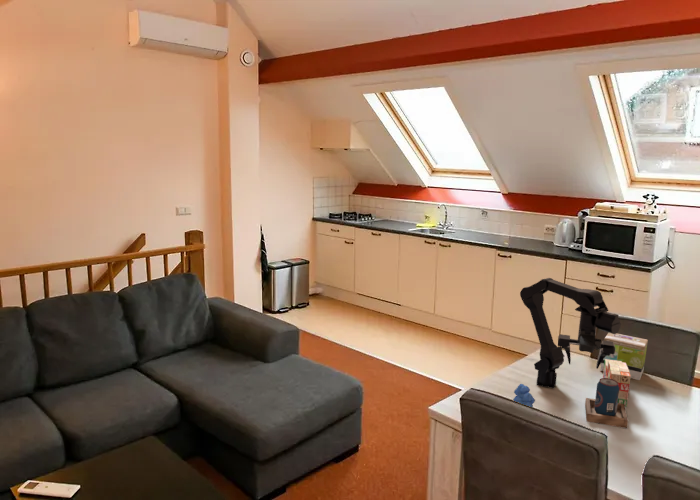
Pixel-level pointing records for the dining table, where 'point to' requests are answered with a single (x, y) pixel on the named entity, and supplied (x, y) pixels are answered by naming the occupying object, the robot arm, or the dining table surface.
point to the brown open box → (617, 420)
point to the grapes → (524, 395)
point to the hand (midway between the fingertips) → (583, 366)
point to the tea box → (628, 353)
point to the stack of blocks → (618, 377)
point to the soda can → (607, 397)
